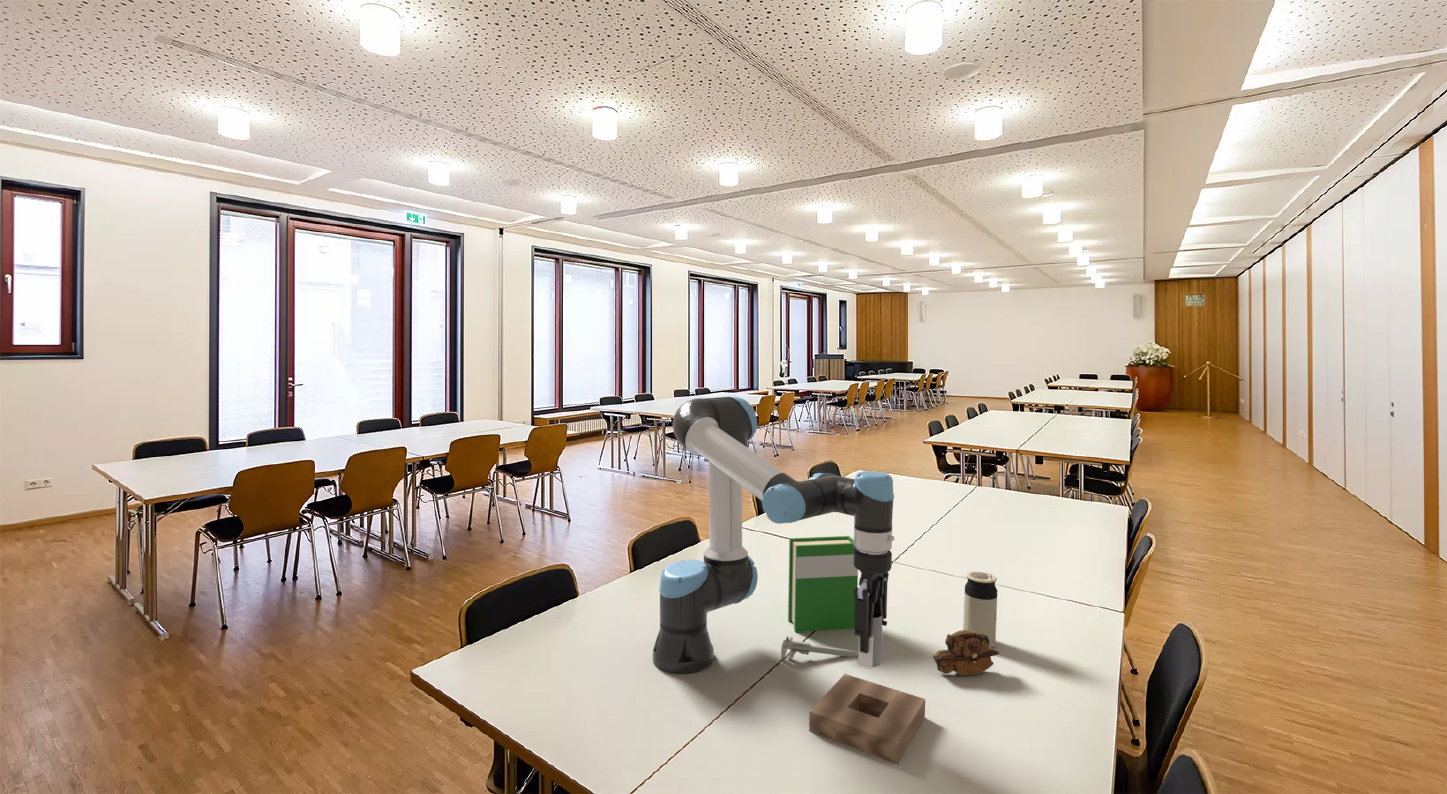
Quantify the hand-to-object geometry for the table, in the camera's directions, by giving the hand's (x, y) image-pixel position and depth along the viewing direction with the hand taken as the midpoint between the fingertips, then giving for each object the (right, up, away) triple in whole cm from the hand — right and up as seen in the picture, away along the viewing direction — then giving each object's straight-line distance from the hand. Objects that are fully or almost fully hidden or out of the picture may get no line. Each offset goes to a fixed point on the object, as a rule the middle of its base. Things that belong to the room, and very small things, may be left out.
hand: (870, 660), depth 126 cm
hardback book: (-2, -10, +48) cm, 49 cm away
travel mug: (+38, -12, +38) cm, 55 cm away
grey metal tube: (0, -1, 0) cm, 1 cm away
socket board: (0, -13, +1) cm, 13 cm away
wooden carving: (+28, -13, +22) cm, 38 cm away
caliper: (-5, -12, +29) cm, 32 cm away
